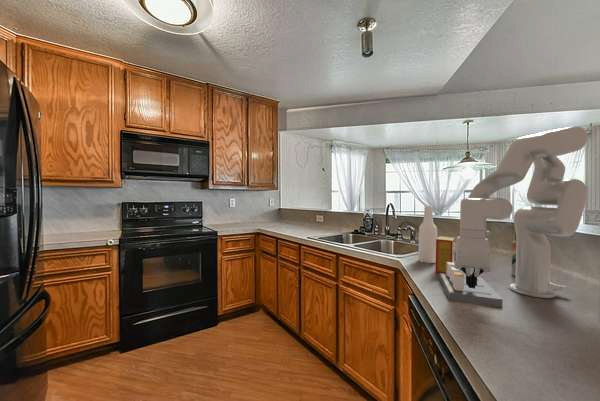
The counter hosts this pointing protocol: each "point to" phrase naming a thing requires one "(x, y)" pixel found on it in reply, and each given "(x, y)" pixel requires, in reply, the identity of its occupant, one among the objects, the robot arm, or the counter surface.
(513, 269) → the lotion bottle
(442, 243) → the baking soda box
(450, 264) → the handle back
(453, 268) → the handle mid
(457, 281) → the handle
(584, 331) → the counter surface
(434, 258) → the alcohol
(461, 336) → the counter surface
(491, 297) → the panel
